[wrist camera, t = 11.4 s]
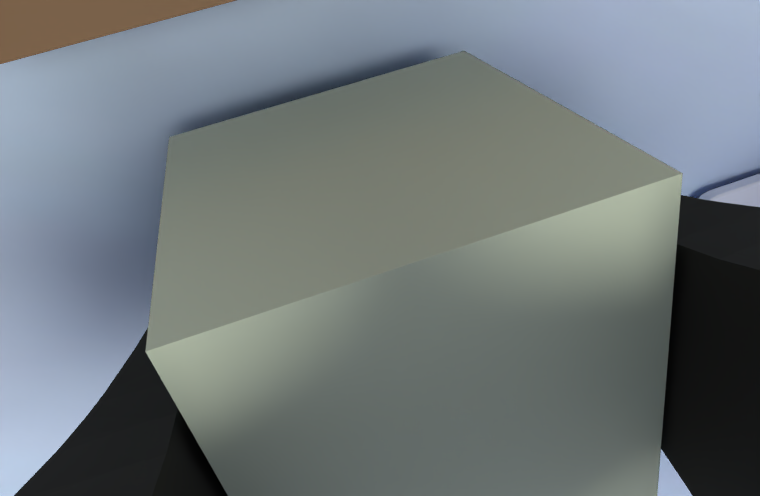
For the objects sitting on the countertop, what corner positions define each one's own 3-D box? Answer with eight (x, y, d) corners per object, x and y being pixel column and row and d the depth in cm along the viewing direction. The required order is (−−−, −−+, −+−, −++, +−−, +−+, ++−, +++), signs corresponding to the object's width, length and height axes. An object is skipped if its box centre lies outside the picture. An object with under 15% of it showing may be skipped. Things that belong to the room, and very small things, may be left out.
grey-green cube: (493, 285, 14) (656, 496, 9) (266, 363, 14) (307, 635, 9) (464, 50, 11) (682, 173, 6) (169, 136, 11) (145, 351, 6)
